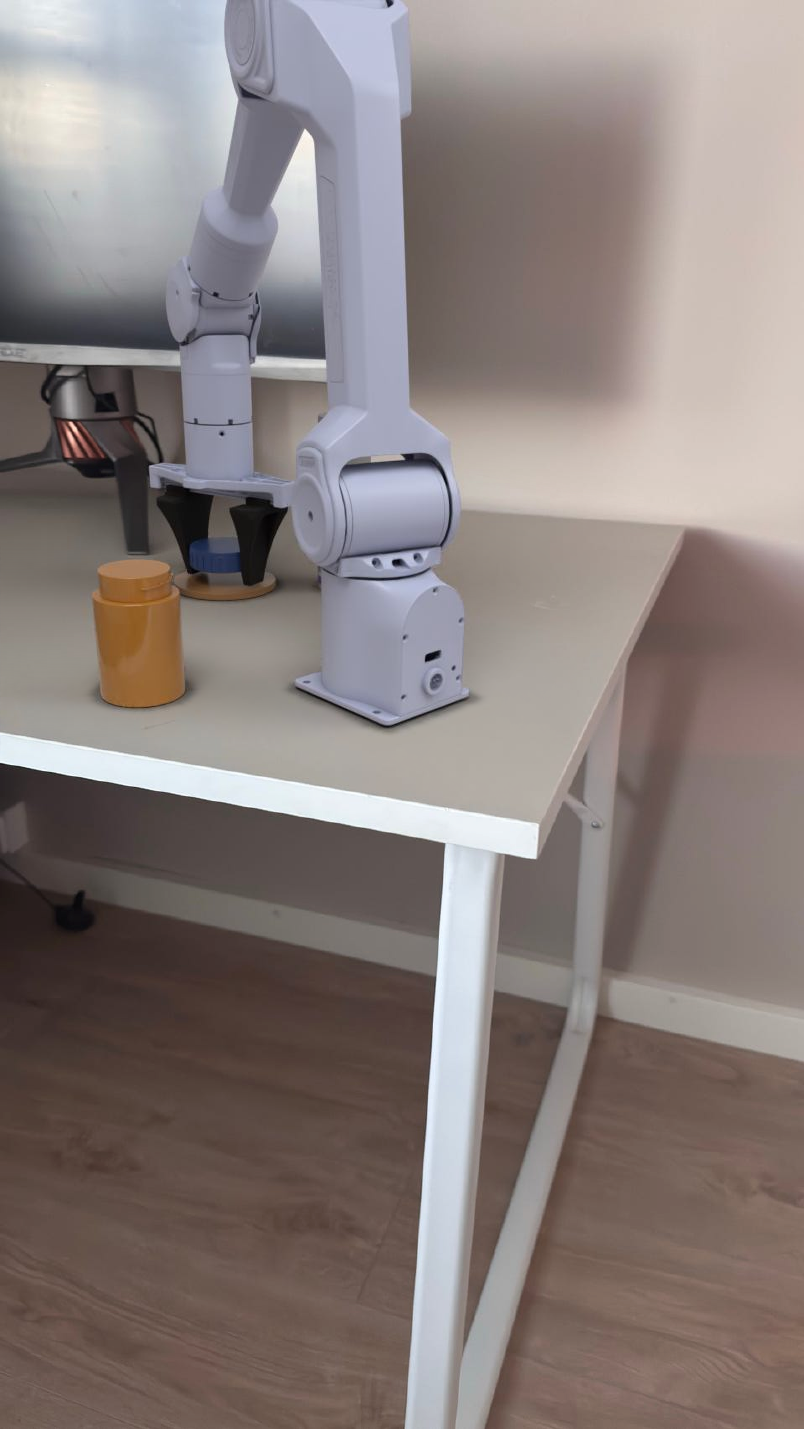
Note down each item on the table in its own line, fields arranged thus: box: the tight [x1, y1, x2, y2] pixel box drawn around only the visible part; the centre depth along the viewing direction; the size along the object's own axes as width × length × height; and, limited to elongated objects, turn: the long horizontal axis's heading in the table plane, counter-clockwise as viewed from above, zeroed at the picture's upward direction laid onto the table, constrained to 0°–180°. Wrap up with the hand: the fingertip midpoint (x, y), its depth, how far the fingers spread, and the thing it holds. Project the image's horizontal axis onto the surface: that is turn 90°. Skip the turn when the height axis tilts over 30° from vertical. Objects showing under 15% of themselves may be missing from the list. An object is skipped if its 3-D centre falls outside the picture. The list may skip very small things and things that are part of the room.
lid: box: [189, 536, 241, 573], centre depth 95 cm, size 6×6×2 cm
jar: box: [91, 558, 186, 708], centre depth 71 cm, size 6×6×9 cm
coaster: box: [173, 570, 277, 601], centre depth 96 cm, size 9×9×1 cm
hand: (224, 577), depth 96 cm, fingers closed on lid, 6 cm apart
